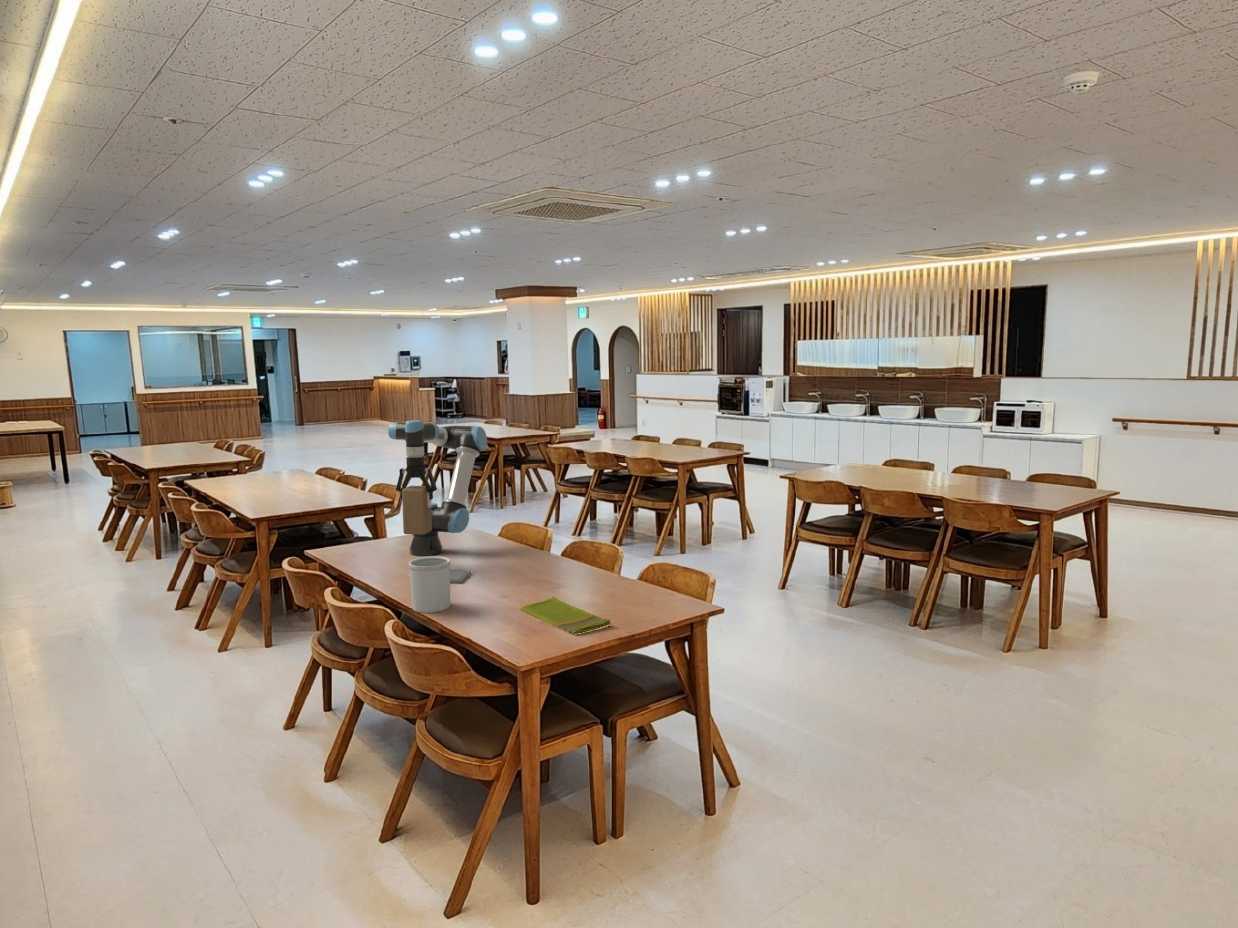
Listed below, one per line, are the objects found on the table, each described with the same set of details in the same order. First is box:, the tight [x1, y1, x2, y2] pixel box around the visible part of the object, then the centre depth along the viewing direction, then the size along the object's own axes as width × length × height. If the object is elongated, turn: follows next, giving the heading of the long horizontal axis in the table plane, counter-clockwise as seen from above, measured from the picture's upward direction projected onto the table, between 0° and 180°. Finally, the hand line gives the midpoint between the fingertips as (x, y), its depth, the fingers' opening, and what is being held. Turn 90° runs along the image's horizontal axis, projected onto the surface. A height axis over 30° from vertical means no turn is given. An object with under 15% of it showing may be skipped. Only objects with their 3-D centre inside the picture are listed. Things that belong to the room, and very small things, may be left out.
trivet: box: [450, 569, 472, 585], centre depth 331 cm, size 16×16×1 cm
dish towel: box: [520, 596, 612, 636], centre depth 278 cm, size 15×36×3 cm, turn 38°
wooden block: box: [401, 485, 432, 535], centre depth 344 cm, size 10×10×20 cm
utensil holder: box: [408, 555, 451, 614], centre depth 290 cm, size 15×15×18 cm
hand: (417, 506), depth 343 cm, fingers closed on wooden block, 10 cm apart
